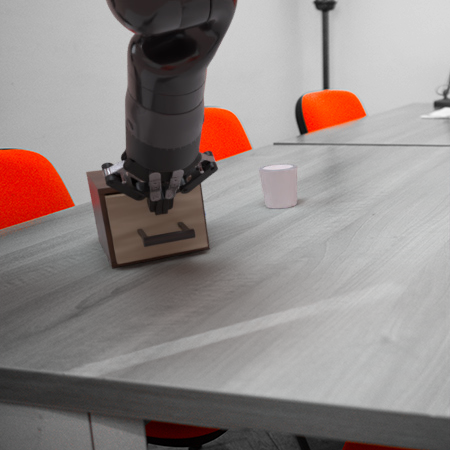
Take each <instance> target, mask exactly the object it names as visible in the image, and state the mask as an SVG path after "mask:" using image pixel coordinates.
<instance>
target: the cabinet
mask: <svg viewBox="0 0 450 450" xmlns="http://www.w3.org/2000/svg"><path fill="white" fill-rule="evenodd" d="M128 173H129V172H128ZM85 175H86V177H87V178H86V179H87V185H88V190H89V195H90V201H91V206H92V210H93V216H94V222H95V227H96V232H97V237H98V238H97V239H98V241H99V243H100V246H101V248H102V250H103V253H104V254H105V256H106V258H107V261H108V263H109V265H110V267H111V268H112V269H116V268H121V267H126V266H131V265H136V264H141V263H146V262H151V261H156V260H161V259H166V258H171V257H176V256H181V255H187V254H191V253H196V252H201V251H207V250H210V247H211V246H210V239H209V232H208V224H207V218H206V210H205V203H204V195H203V186H202V183H201V184H199V185H200V191H201V198H202V206H203V213H204V221H205V228H206V236H207V243H208V247H204V248H199V249H194V250H189V251H184V252H178V253H173V254H168V255H163V256H158V257H153V258H148V259H143V260H138V261H133V262H127V263H122V264H118V263H117V261H116V256H115V250H114V245H113V240H112V234H111V229H110V223H109V218H108V212H107V207H106V201H105V196H106V195H105V194H110V193H117V192H119V191H117V190H115V189H113V188H111V187H109V186H107V185H106V182H105V179H104V175H103V171H102V169H99V170H91V171H86V172H85ZM131 175H132V174H131ZM133 176H134V175H133ZM190 179H191V175H190V176H189V177H188V178H187V180H188V181H189V180H190ZM141 182H144V181H142V180H141Z"/></svg>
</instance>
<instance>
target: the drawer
mask: <svg viewBox="0 0 450 450" xmlns="http://www.w3.org/2000/svg"><path fill="white" fill-rule="evenodd" d="M105 195H106V196H105V201H106V207H107V212H108V218H109V223H110V229H111V234H112V240H113V245H114V250H115V256H116V261H117V263H118V264H122V263H127V262H133V261H138V260H143V259H148V258H153V257H158V256H163V255H168V254H173V253H178V252H184V251H189V250H194V249H199V248H204V247H208V243H207V236H206V228H205V221H204V213H203V206H202V198H201V191H200V185H198V186H197V187H195V188H194V189H193V190H192V191H190V192H189V193H187V194H182V193H181V192H179V193H177V194H176V196H175V197H174V202H173V208H172V209H170V210H168V214H162V215H155V212H150V211H149V207H148V204H147V198H145V199H144V200H141V201H137V200H134V199H132V198H131V197H129V196H127V195H125V194H123V193H121V192H117V193H110V194H105Z"/></svg>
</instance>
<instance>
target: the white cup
mask: <svg viewBox="0 0 450 450" xmlns="http://www.w3.org/2000/svg"><path fill="white" fill-rule="evenodd" d="M258 173H259V178H260V179H259V180H260V183H261V188H262V194H263V199H264V204H265V208H268V209H274V210H275V209H287V208H288V209H289V208H292V207H294V206H297V204H298V166H297V165H296V164H293V163H292V164H291V163H276V164H268V165H267V164H266V165H263V166H261V167H258Z"/></svg>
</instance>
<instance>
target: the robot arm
mask: <svg viewBox="0 0 450 450" xmlns="http://www.w3.org/2000/svg"><path fill="white" fill-rule="evenodd" d="M105 1H106V5H107V7H108V9H109V11H110V13H111V14H112V15H113V18H115V20H116V21H117V22H118V23H120V25H121V26H122V27H124V28H125V29H126V30H128V31H129V32H130V33H133V35H132V36H131V37H130V40H129V42H128V45H127V51H126V64H127V65H126V71H127V73H126V75H127V77H126V79H127V83H126V84H127V85H126V92H125V95H124V96H125V97H124V118H125V119H124V123H125V124H124V125H125V129H124V130H125V149H124V151H123V152H122V153H121V155H120V161H118V162H117V163H115V164H114V163H112V162H104V163H102V164H101V166H100V167H101V170H102V171H103V175H104V179H105V182H106V185H107V186H109V187H111V188H113V189H115V190H117V191H119V192H121V193H123V194H125V195H127V196H129V197H131V198H132V199H134V200H137V201H141V200H144V199H145V198H147V204H148V207H149V211H150V212H155V215H162V214H168V210H170V209H172V208H173V202H174V197H175V196H176V194H177V193H179V192H181V193H182V194H187V193H189V192H190V191H192V190H193V189H194V188H195V187H197V186H198V185H199V184H201V185H202V183H203V182H205V181H206V180H207V179H208V178H210V177H211V176H212V175H214V174H215V173H216V172H218V170H219V168H218V165H217V161H216V159H215V156H214V153H213V152H212V151H211V150H206V151H204V152H201V151H200V147H201V140H202V132H203V124H204V123H205V91H206V82H207V74H208V67H209V66H210V64H211V62H212V61H213V59H214V58H215V56H216V54H217V52H218V50H219V48H220V46H221V44H222V43H223V40H224V39H225V36H226V34H227V33H228V30H229V28H230V27H231V25H232V22H233V19H234V18H235V14H236V10H237V7H238V1H239V0H105ZM128 172H129V173H128ZM131 174H132V175H131ZM133 175H134V176H133ZM190 175H191V179H190V180H189V181H188V180H187V178H188V177H189V176H190ZM141 180H142V181H144V182H141Z"/></svg>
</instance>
